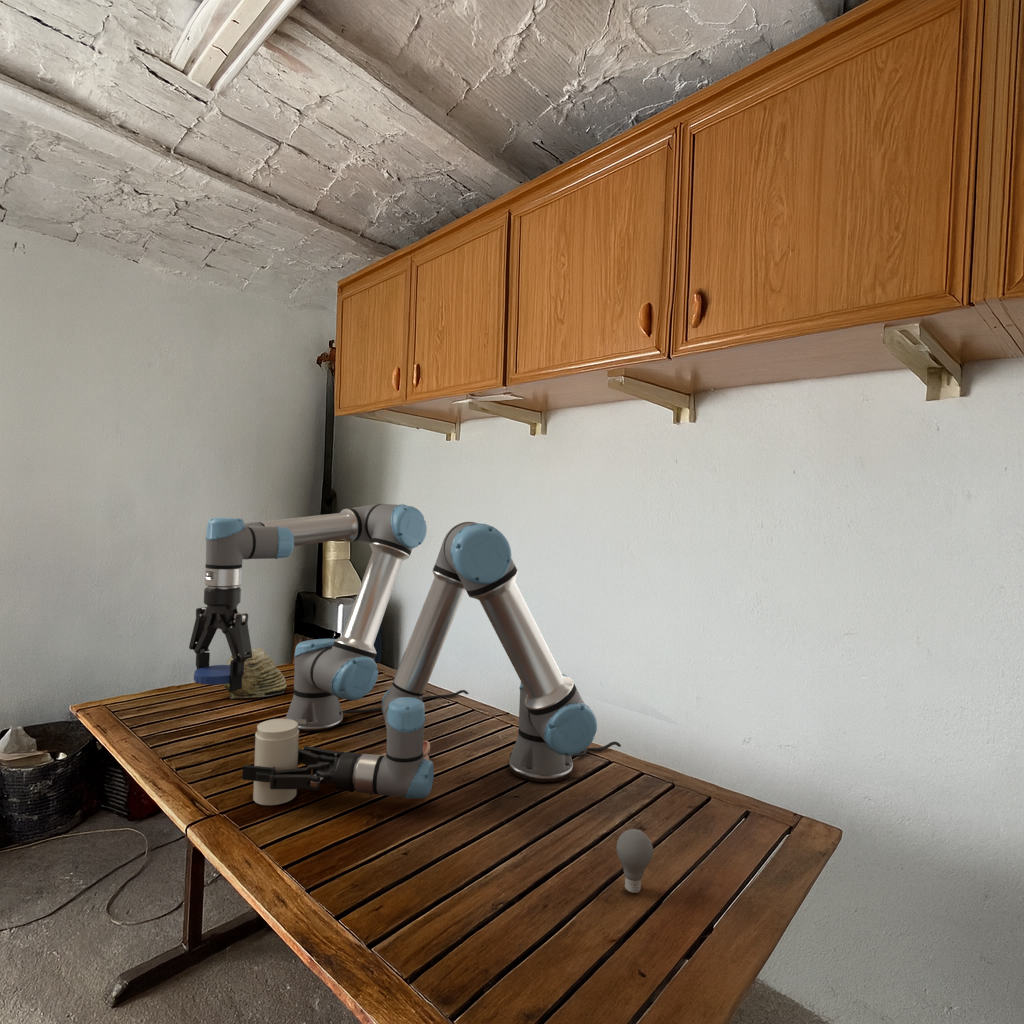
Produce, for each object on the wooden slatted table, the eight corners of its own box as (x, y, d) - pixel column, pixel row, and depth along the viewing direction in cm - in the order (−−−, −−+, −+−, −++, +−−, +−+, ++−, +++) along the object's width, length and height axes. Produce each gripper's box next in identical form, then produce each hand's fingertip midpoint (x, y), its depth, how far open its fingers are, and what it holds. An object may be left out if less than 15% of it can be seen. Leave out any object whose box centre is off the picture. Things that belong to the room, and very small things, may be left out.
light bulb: (610, 879, 108) (613, 822, 108) (644, 879, 109) (647, 822, 109) (619, 902, 102) (622, 840, 102) (655, 901, 103) (658, 840, 103)
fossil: (218, 695, 195) (220, 647, 195) (278, 685, 208) (279, 640, 207) (228, 703, 189) (230, 653, 188) (289, 692, 201) (290, 645, 201)
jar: (302, 786, 138) (304, 718, 138) (288, 806, 129) (291, 733, 129) (262, 785, 138) (264, 717, 137) (246, 804, 129) (248, 731, 129)
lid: (190, 675, 143) (190, 667, 143) (237, 670, 149) (237, 662, 149) (198, 687, 135) (198, 678, 135) (247, 681, 141) (248, 673, 141)
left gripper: (173, 583, 143) (169, 681, 143) (245, 593, 134) (241, 698, 134) (202, 580, 150) (198, 674, 150) (273, 590, 140) (268, 690, 141)
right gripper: (337, 816, 121) (226, 804, 123) (374, 769, 142) (279, 760, 145) (339, 777, 121) (227, 766, 123) (376, 736, 142) (280, 727, 144)
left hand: (218, 685), depth 142 cm, fingers closed on lid, 10 cm apart
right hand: (255, 762), depth 134 cm, fingers closed on jar, 9 cm apart
